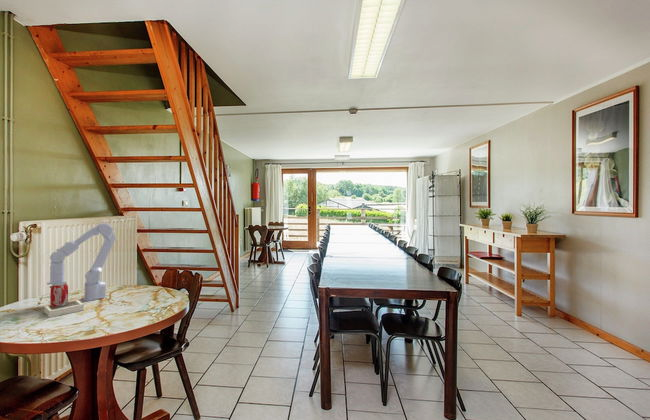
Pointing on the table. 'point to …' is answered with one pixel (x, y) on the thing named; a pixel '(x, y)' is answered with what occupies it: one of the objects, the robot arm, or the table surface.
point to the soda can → (59, 295)
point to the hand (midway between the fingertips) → (56, 298)
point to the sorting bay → (64, 309)
